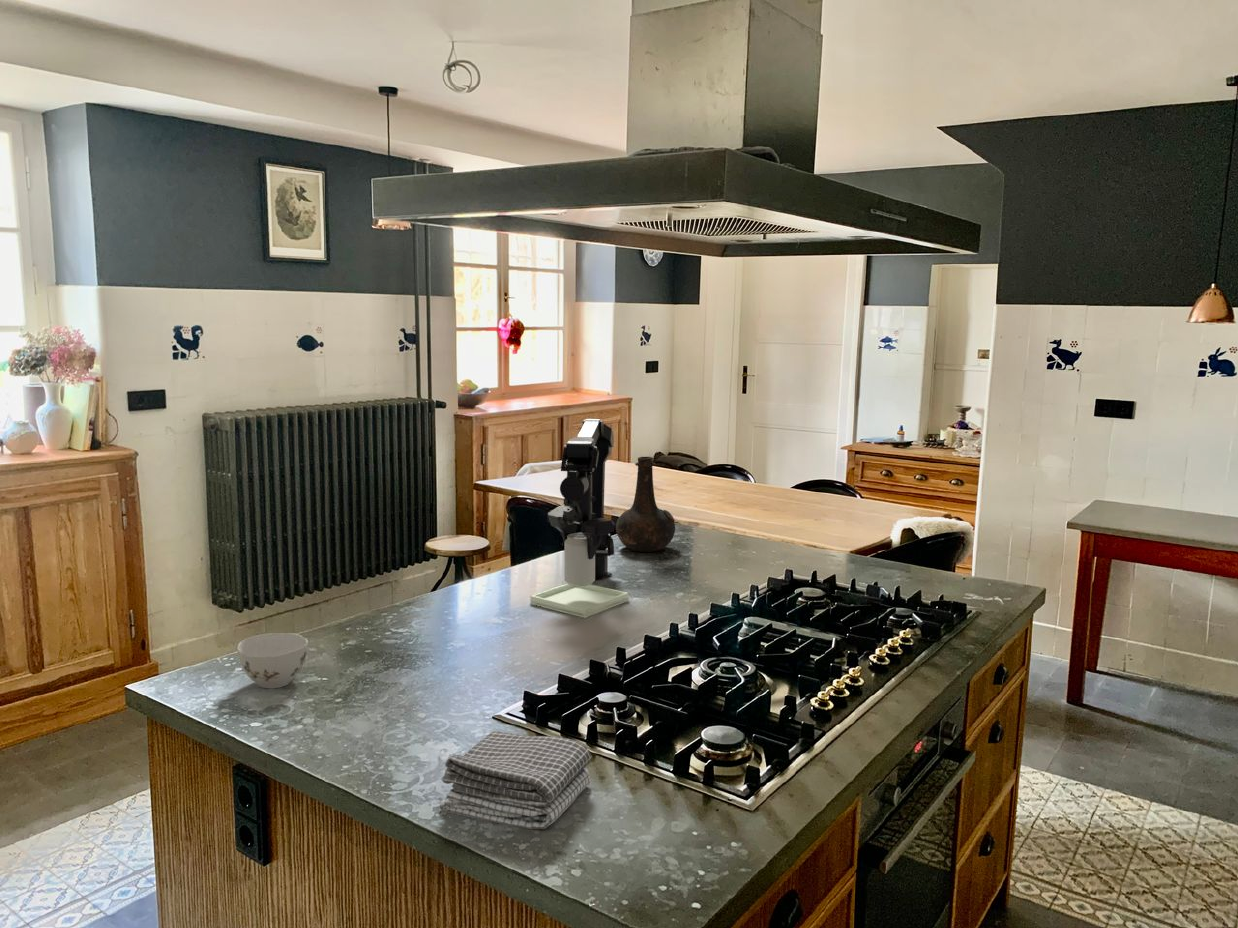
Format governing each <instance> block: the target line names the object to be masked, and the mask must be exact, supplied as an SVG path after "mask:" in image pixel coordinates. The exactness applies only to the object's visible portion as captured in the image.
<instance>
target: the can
mask: <svg viewBox="0 0 1238 928" xmlns="http://www.w3.org/2000/svg"><path fill="white" fill-rule="evenodd" d="M595 581H596V579H595V555H594V557H593V559H589V558H588V548H587V538H586V537H585V536H584V534H583V533H580V532H576V533H574V534H569V535H568V536H567V539H566V541H565V544H564V582H566V584H567V583H568V584H569V585H571V586H577V587H582V586H588V585H593V583H594V582H595Z"/></svg>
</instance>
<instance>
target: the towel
mask: <svg viewBox="0 0 1238 928" xmlns="http://www.w3.org/2000/svg"><path fill="white" fill-rule="evenodd" d="M592 759H593V756H592V752H591V751H590V750H589V749H588V748H587V746H586V745H584V744H581V743H580V742H577V741H575V740H574V739H570V738H566V737H560V736H559V737H558V736H547V735H542V736H541V735H524V734H523V735H521V734H514V733H508V732H502V731H500V730H499V731H491V732H490V733H489V734H488V735H486V736H485V737H484V738H482V739H481V740H480V741H478V742H477V743H476V744H475V745H474V746H473V747H471V748H470V749H469V750H468V751H467V752H465V753H464V754H455V755H451V756H450V755H449V756H448V758H447V759H446V760H445V765H444V766H445V767H446V769H445V770H444V775H443V777H442V778H441V781H442V783H444V784H447V785H448V784H452V785H451V786H452V788H450V789H449V791H447V792H446V794H445V796H444V797H443V798H442V800H441V801H440V804H439V806H438V807H439V810H440V811H441V812H443V813H450V814H452V815H458V816H463V817H467V818H468V817H469V818H471V819H476V820H480V821H485V822H492V823H496V824H501V825H505V826H506V825H507V826H510V827H515V828H516V827H517V828H521V829H527V830H544V829H546V828H548V827H549V826H551V825H552V824H553V823H555V822H556V821H557V819H559V818H560V817H561V816H562V814H563V813H564V812H565V811H566V810H568V808H569V807H570V806H571V805H572V804H573V803H574V802H575V800H577V797H578V796H579V795H580V794H581V793H582V792H583V791H584V790H585V789H586V788H587V787H588V786H589V785H590V784H591V775H590V772H589V770H588V768H587V766H588V765H589V764H590V763H591V761H592Z"/></svg>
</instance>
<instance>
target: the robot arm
mask: <svg viewBox="0 0 1238 928" xmlns="http://www.w3.org/2000/svg"><path fill="white" fill-rule="evenodd" d="M614 445H615V435H614V431H613V428H612V427H611V426H608V425H607V424H605V422H604V419H600V418H586V419H583V421H582V426H581V427H580V430H579V432H578V434H577V436H576V437H573V438H570V439H569V440H568V441H567V442H566V444H565V445H564V446H563V449H562V450H563V451H562V457H561V464H560V465H561V466H560V472H566V477H565V478H564V479H562V480H561V483H560V485H559V486H560V487H559V492H560V495H561V496H562V497H563V503H562V505H559V506H557V507H555V508H554V509H551V510H550V511H548V512H547V516H546V520H547V521H546V522H547V523H550V525H551V526H552V527H553V528H555V529H557V530H558V531H559V532H560V535H561V537H562V541H563V543H564V544H563V545H565V541H566V539H567V536H568V535H569V534H574V533H577V527H578V526H581V527H580V532H579V533H583V534H584V536H585V537H586V538H587V548H588V558H589V559H593V557H594V555H595V581H598V580H602V579H604V578H608V577H611V576H613V573H612V572H608V571H609V570H608V564H609V562H608V560H609V559H608V558H609V557H611V556H613V555H615V543H614V538H613V537H612V534H611V533H613V532H615V522H614V521H613V520H612V519H608V518H605V515H604V514H605V482H606V481H605V478H606V476H605V474H606V462H607V461H608V459H609V457H610V456H611V454H612V448H614Z"/></svg>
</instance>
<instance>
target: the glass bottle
mask: <svg viewBox="0 0 1238 928" xmlns="http://www.w3.org/2000/svg"><path fill="white" fill-rule="evenodd" d="M653 460H654V458H653V457H652V456H639V457H637V462H636V463H634V465H635V466H637V473H636V475H637V477H636V485H635V493H634V498H633V504H632V505H631V507H630V508H629V509H627V510H625V511H624V512H622V514H620V516H619V517H618V518H617V520H616V524H615V531H616V535H617V537H618V539H619V540H620V542H621V543H622V544H623V546H625V547H626V548H627V549H630V550H632V551H636V552H639V553H640V552H641V553H650V552H658V551H659V550H662V549H665V548H666V547H667V546H668V545H669V544H670V543H671V542H672V540H673V538H674V536H675V532H676V523H675V521H676V520H675V518H674V516H673V515H672V514H671V513H670V512H669V511H668V510H666V509H660V508H659V507H658V506H657V503H656V497H655V489H654V477H653V476H654V475H653V472H654V471H653V467H654V466H656V463H655V462H653Z"/></svg>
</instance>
